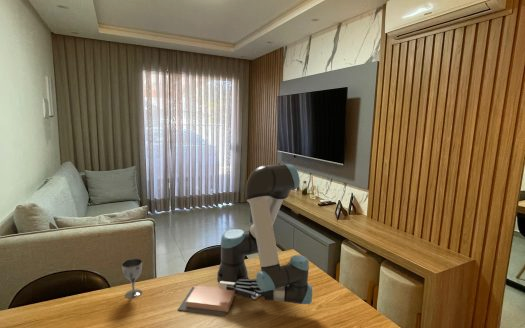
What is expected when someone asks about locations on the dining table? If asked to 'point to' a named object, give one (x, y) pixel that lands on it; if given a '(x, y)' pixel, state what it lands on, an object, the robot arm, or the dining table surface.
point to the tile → (210, 298)
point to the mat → (198, 310)
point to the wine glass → (132, 275)
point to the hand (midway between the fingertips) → (219, 284)
